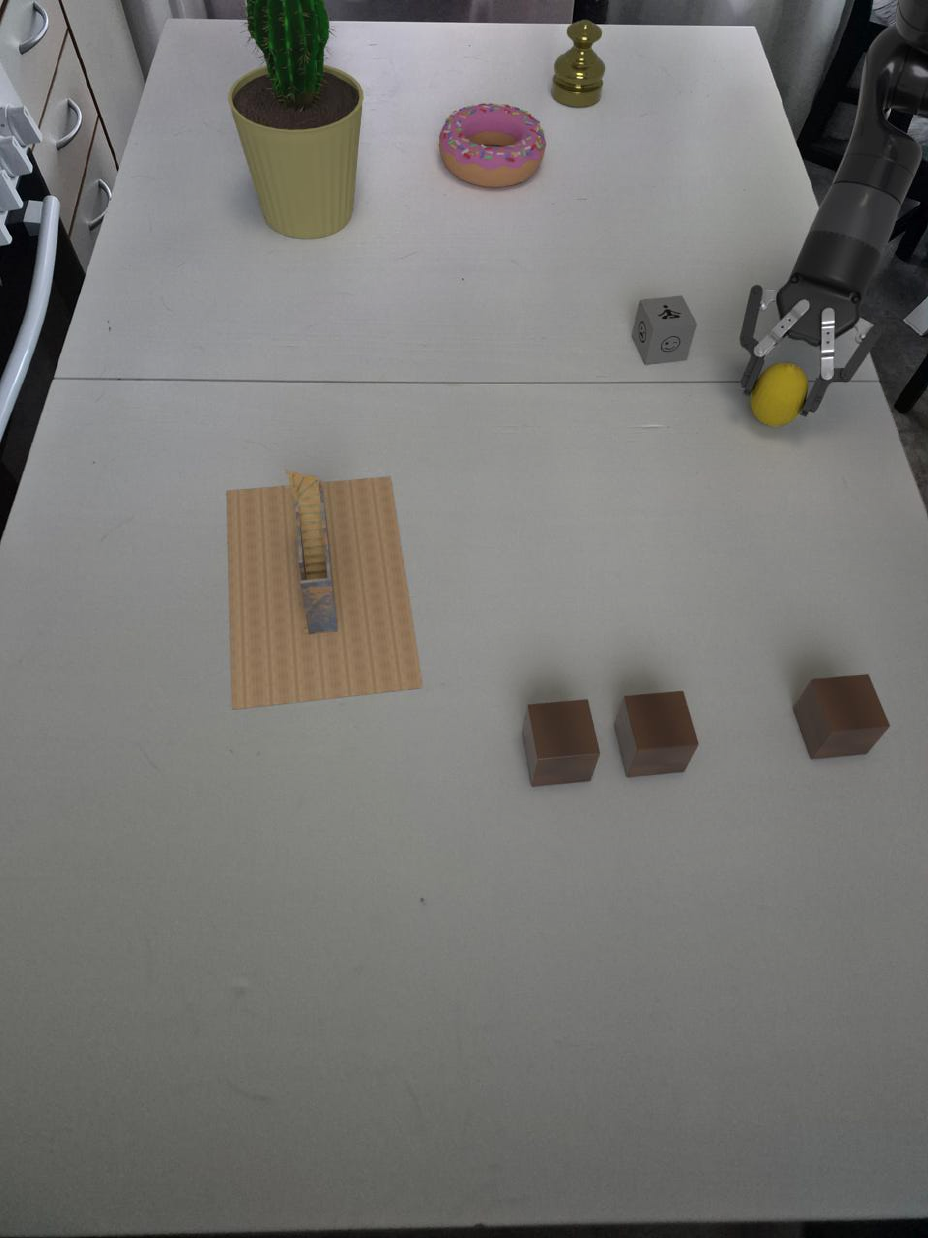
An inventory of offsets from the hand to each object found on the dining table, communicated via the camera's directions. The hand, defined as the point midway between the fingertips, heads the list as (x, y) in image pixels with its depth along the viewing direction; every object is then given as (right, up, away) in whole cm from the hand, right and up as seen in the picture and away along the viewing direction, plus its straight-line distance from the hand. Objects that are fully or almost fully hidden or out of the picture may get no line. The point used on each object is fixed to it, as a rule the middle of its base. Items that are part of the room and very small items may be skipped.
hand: (775, 404), depth 100 cm
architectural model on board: (-46, -19, -10) cm, 51 cm away
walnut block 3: (-1, -32, -17) cm, 36 cm away
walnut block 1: (-25, -34, -19) cm, 46 cm away
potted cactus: (-52, +29, +23) cm, 64 cm away
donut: (-29, +40, +31) cm, 58 cm away
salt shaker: (-16, +55, +42) cm, 71 cm away
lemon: (+1, -1, +5) cm, 5 cm away
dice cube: (-10, +9, +11) cm, 17 cm away
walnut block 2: (-17, -33, -18) cm, 41 cm away
